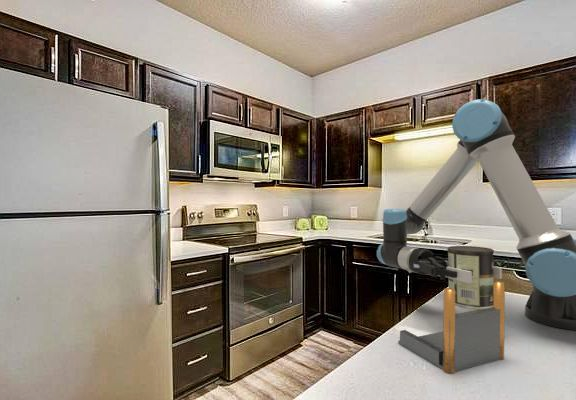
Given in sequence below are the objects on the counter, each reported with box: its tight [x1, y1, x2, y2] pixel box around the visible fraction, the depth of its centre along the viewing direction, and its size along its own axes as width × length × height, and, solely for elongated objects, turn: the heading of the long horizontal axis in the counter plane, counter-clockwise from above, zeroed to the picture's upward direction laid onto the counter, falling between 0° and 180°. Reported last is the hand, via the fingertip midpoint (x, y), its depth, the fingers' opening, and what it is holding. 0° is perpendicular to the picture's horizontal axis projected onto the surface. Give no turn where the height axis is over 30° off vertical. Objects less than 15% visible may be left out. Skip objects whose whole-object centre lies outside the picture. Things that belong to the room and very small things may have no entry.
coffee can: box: [446, 245, 495, 310], centre depth 82 cm, size 10×10×14 cm
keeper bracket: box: [398, 280, 506, 375], centre depth 71 cm, size 16×14×16 cm
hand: (486, 275), depth 78 cm, fingers closed on coffee can, 10 cm apart
